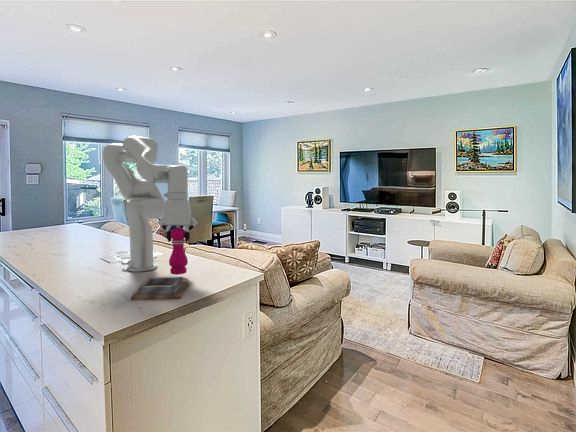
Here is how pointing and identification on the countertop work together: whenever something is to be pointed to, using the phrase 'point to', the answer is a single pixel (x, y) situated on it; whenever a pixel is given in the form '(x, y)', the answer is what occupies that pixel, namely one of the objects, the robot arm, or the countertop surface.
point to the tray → (127, 256)
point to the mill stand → (161, 288)
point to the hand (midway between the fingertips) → (178, 240)
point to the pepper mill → (178, 252)
